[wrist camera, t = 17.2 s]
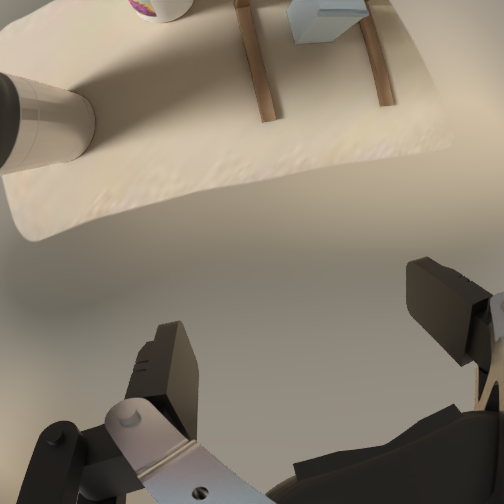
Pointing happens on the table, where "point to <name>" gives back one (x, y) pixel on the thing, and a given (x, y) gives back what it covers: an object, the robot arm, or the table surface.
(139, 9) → the milk bottle
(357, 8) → the lidded storage bin
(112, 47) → the table surface
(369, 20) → the bay
